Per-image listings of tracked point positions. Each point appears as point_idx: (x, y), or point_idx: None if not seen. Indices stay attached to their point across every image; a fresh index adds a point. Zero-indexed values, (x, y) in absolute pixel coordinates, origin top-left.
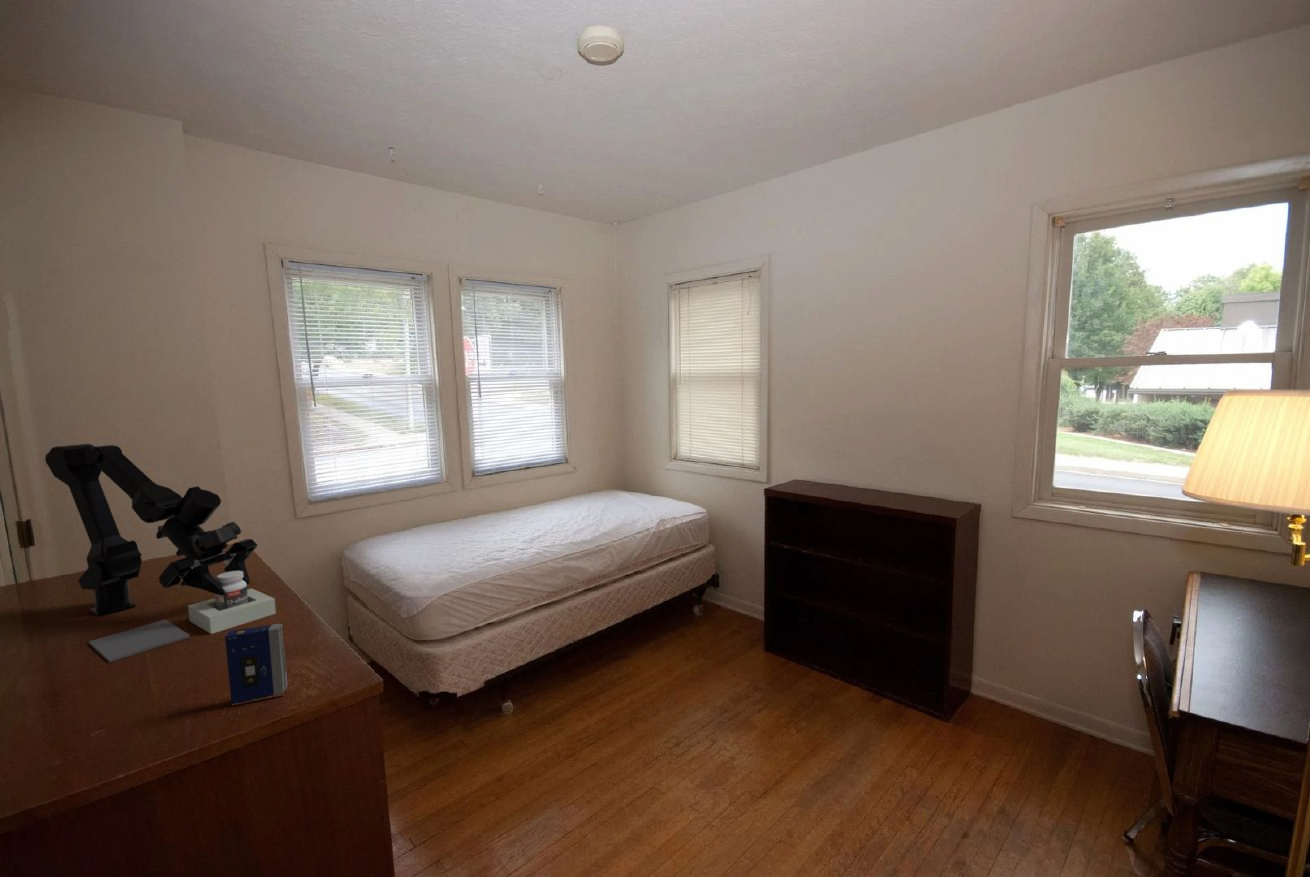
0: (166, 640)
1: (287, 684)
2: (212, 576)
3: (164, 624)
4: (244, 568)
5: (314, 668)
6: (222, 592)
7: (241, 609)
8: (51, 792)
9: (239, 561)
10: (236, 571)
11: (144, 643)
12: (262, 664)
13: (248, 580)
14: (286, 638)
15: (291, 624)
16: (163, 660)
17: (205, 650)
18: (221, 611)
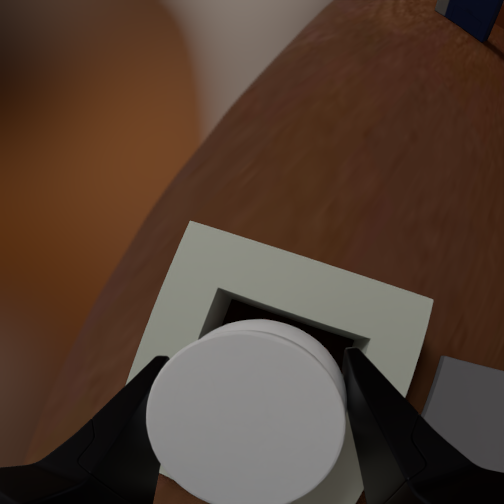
0: (482, 381)
1: (436, 5)
2: (397, 453)
3: None
4: (97, 424)
5: (389, 5)
6: (358, 353)
7: (320, 264)
8: None
9: (69, 478)
10: (168, 433)
11: (500, 419)
12: None
13: (156, 363)
14: (343, 80)
15: (272, 125)
16: None
17: (470, 209)
18: (373, 320)
